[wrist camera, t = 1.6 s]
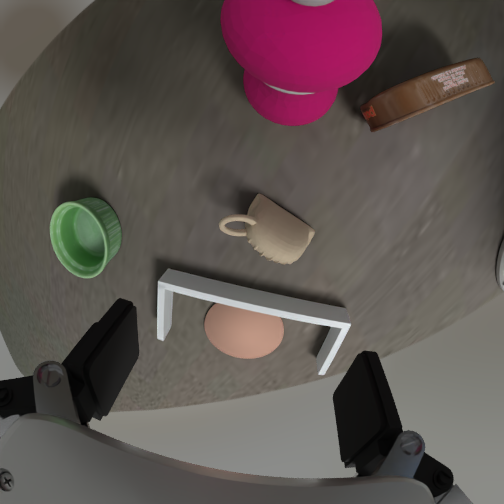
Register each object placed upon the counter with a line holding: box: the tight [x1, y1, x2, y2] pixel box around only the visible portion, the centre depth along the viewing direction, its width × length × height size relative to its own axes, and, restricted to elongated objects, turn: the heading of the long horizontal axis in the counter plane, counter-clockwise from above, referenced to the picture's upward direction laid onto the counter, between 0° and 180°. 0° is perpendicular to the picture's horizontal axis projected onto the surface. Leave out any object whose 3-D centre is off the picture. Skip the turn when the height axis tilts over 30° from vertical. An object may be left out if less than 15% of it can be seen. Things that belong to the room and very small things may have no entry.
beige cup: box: [219, 193, 315, 265], centre depth 25 cm, size 4×8×5 cm, turn 56°
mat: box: [204, 303, 284, 359], centre depth 32 cm, size 10×10×1 cm
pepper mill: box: [221, 0, 382, 126], centre depth 13 cm, size 7×7×20 cm
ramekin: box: [50, 198, 122, 278], centre depth 27 cm, size 9×9×4 cm
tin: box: [360, 58, 495, 132], centre depth 16 cm, size 15×3×8 cm, turn 121°
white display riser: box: [157, 268, 351, 375], centre depth 30 cm, size 21×8×3 cm, turn 78°
